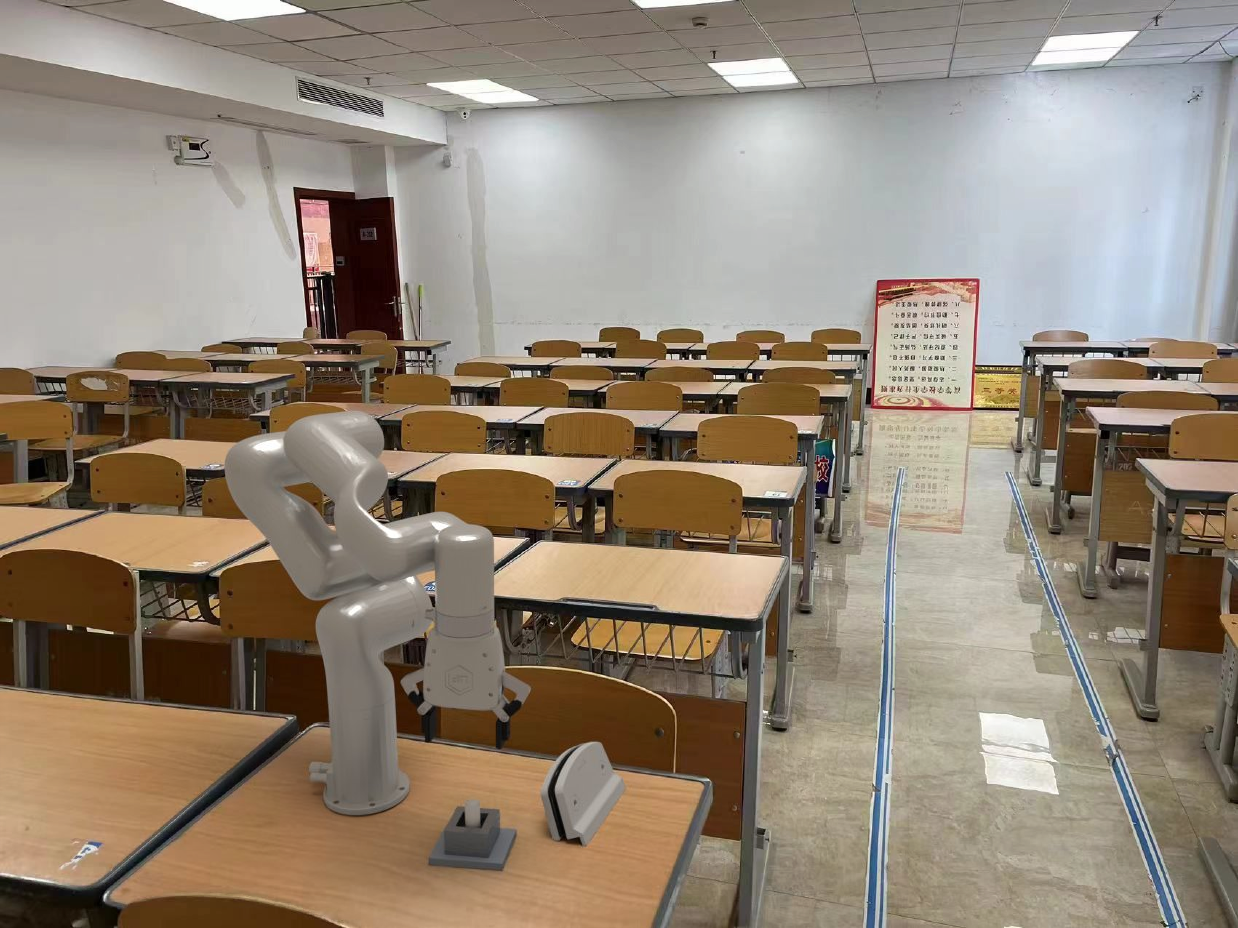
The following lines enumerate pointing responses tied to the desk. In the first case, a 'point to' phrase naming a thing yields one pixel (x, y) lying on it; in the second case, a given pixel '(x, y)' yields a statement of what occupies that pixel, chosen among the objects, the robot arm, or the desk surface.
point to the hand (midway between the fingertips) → (466, 740)
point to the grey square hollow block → (472, 834)
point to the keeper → (491, 863)
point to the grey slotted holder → (580, 792)
